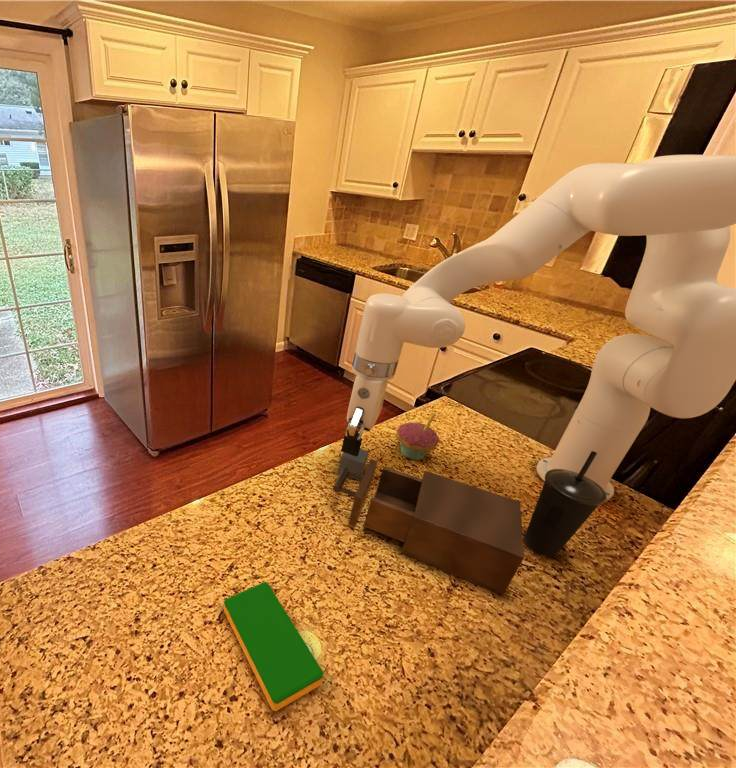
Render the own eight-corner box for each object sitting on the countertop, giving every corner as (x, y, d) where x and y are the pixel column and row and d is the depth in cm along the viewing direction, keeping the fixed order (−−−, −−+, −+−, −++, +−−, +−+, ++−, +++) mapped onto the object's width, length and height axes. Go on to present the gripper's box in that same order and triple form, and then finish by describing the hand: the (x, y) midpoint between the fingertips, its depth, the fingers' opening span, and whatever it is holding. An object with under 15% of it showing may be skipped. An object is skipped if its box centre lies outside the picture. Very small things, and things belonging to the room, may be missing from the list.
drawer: (324, 514, 74) (330, 486, 71) (342, 477, 83) (348, 451, 79) (431, 558, 66) (442, 529, 63) (438, 512, 75) (449, 484, 72)
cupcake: (438, 453, 92) (454, 407, 86) (424, 471, 86) (440, 424, 80) (400, 437, 97) (413, 393, 91) (385, 453, 91) (397, 407, 86)
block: (344, 461, 89) (347, 444, 87) (365, 468, 87) (369, 451, 85) (337, 472, 85) (341, 455, 83) (359, 480, 83) (363, 463, 81)
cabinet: (401, 553, 68) (413, 516, 64) (413, 505, 78) (424, 470, 74) (502, 595, 62) (524, 557, 58) (502, 537, 71) (520, 501, 67)
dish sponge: (265, 590, 62) (266, 580, 61) (322, 684, 51) (325, 674, 50) (222, 609, 59) (223, 599, 58) (273, 713, 48) (274, 703, 47)
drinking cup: (577, 568, 66) (641, 473, 57) (525, 559, 68) (579, 465, 58) (554, 531, 73) (608, 440, 63) (507, 524, 74) (552, 434, 64)
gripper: (386, 389, 66) (364, 471, 74) (404, 352, 79) (384, 425, 87) (340, 376, 69) (324, 457, 77) (365, 343, 82) (349, 414, 90)
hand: (356, 440), depth 82 cm, fingers open, 9 cm apart
